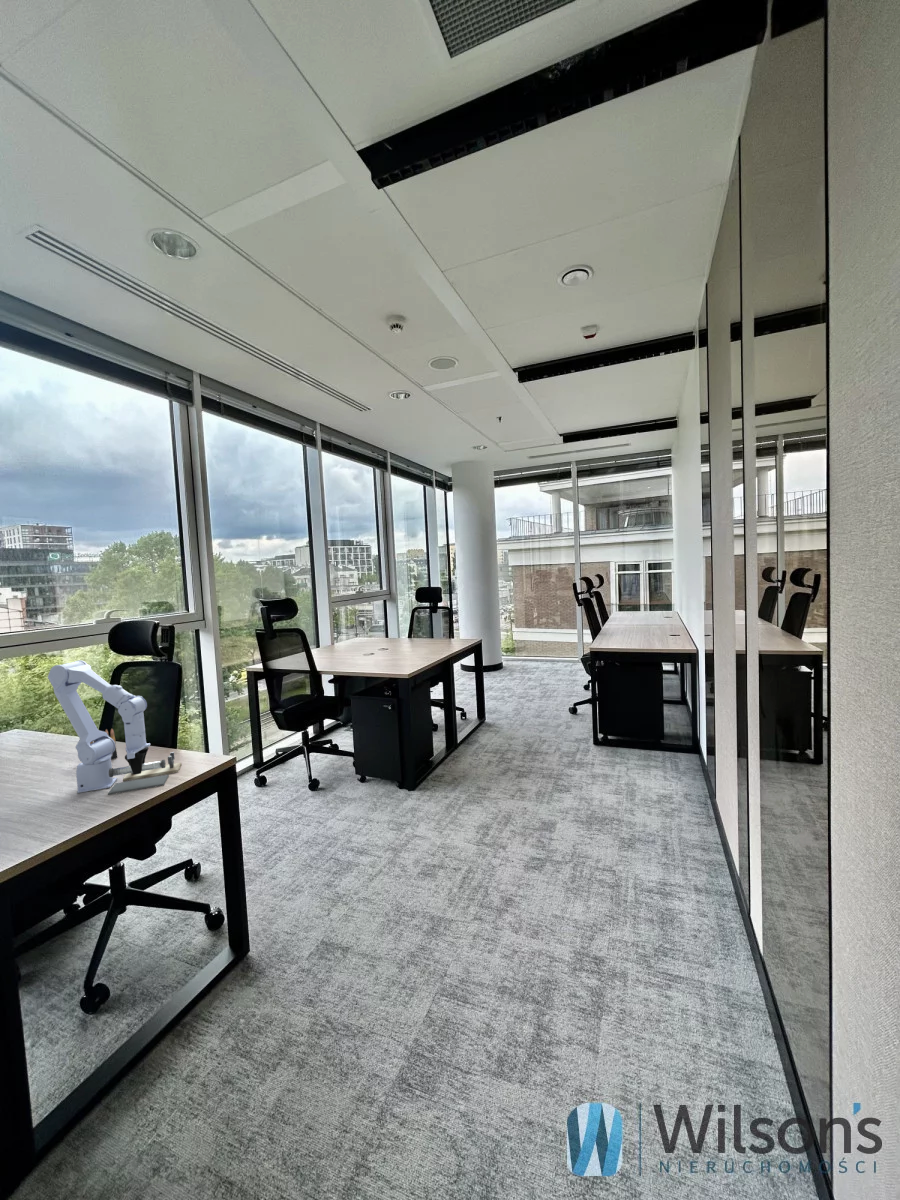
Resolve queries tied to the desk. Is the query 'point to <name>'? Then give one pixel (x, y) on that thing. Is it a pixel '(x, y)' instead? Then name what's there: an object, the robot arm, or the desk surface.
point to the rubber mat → (138, 784)
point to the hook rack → (156, 770)
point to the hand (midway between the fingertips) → (138, 772)
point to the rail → (128, 769)
